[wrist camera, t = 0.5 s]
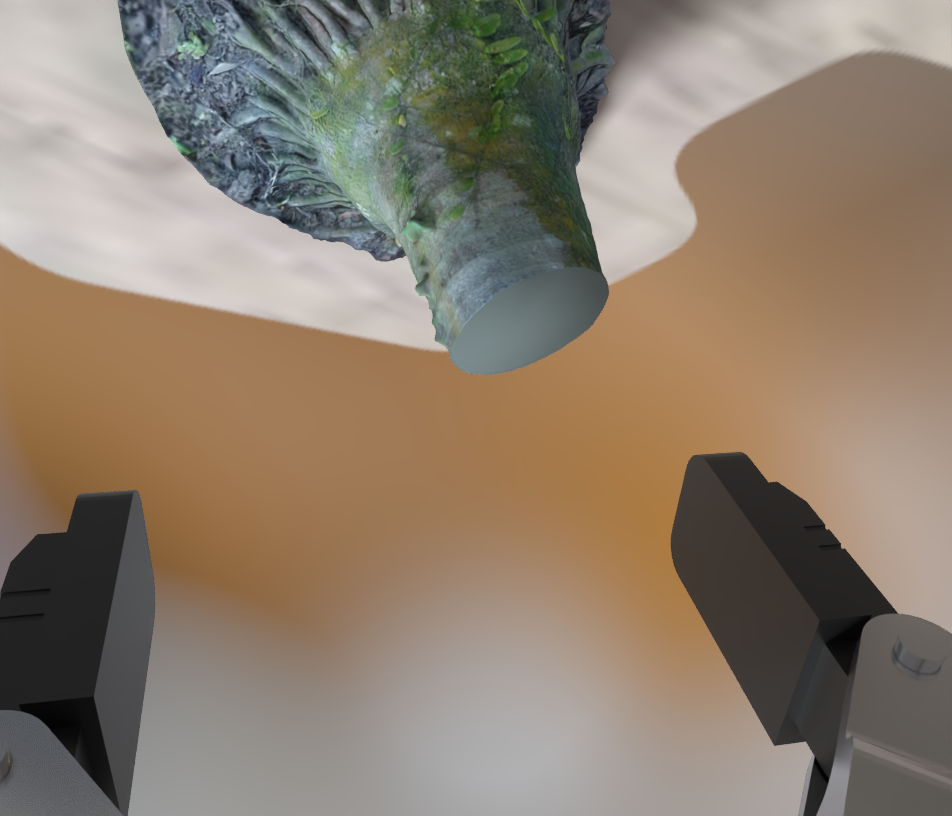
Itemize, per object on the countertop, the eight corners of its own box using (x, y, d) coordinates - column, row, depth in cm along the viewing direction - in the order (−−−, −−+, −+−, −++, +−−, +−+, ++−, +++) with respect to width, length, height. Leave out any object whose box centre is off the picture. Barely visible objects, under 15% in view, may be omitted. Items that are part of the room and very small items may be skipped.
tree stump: (360, -410, 27) (657, -95, 19) (615, -13, 44) (833, 247, 36) (4, 20, 33) (115, 404, 25) (348, 227, 50) (483, 499, 42)
